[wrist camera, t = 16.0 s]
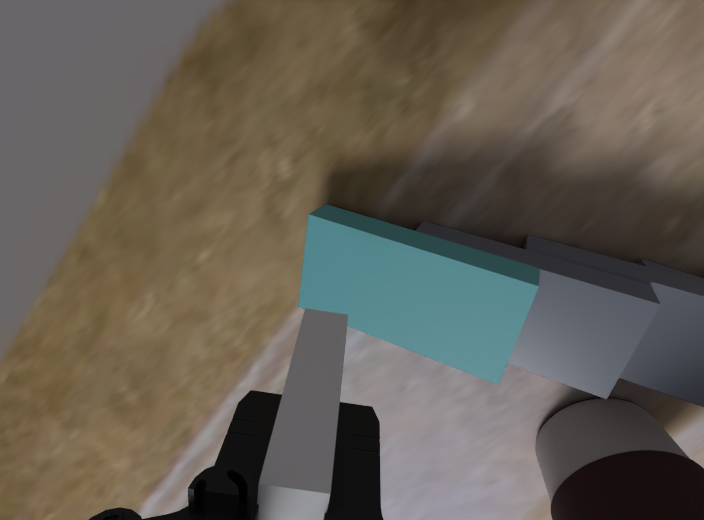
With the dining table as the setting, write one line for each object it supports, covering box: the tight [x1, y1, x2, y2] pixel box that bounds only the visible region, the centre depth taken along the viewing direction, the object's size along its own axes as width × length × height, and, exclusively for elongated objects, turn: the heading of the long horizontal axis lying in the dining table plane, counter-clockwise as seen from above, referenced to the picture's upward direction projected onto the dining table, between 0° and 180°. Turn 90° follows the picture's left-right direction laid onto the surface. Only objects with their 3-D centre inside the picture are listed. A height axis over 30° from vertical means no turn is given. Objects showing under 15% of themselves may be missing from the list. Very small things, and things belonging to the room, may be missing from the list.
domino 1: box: [298, 204, 540, 385], centre depth 19 cm, size 2×5×10 cm
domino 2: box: [415, 221, 661, 399], centre depth 20 cm, size 2×5×10 cm
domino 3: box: [523, 235, 704, 407], centre depth 20 cm, size 2×5×10 cm
